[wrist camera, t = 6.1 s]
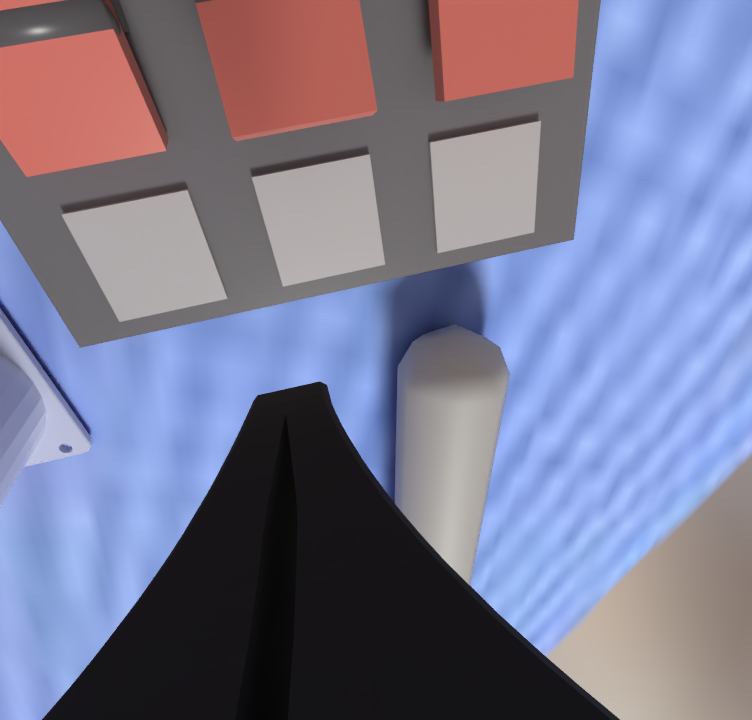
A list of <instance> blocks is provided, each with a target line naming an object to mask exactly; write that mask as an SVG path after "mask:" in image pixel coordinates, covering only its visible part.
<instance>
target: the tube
mask: <svg viewBox="0 0 752 720" xmlns="http://www.w3.org/2000/svg"><path fill="white" fill-rule="evenodd" d="M509 375H510V373H509V371H508V368H507V365H506V363H505V360H504V357H503V355H502V352H501V349H500V347H499V346H497V345H496V344H494V343H493V342H491V341H490V340H488V339H487V338H485V337H483V336H481V335H479V334H477V333H474V332H472V331H470V330H468V329H466V328H463V327H461V326H459V325H457V324H453V325H450V326H447V327H444V328H440V329H437V330H434V331H431V332H428V333H425V334H423V335H422V336H420V337H419V338H417V339H416V340H414V341H413V342H412V343H411V345H410V347H409V348H408V350H407V352H406V353H405V355H404V357H403V358H402V360H401V362H400V363H399V365H398V375H397V419H396V464H395V504H396V506H397V507H398V508H399V509H400V510H401V512H402V513H403V514H404V515H405V516H406V518H407V519H408V520H409V521H410V522H411V524H412V525H413V526H414V527H415V528H416V529H417V531H418V532H419V533H420V534H421V535H422V536H423V537H424V538H425V540H426V541H427V542H428V543H429V544H430V545H431V546H432V547H433V548H434V549H435V550H436V552H437V553H438V554H439V555H440V556H441V557H442V558H443V559H444V560H445V561H446V562H447V563H448V564H449V565H450V566H451V567H452V568H453V569H454V570H455V571H456V572H457V573H458V574H459V575H460V576H461V577H462V578H463V579H464V580H465V581H466V582H467V583H468V584H469V585H470V584H471V578H472V573H473V568H474V562H475V557H476V552H477V546H478V541H479V536H480V530H481V525H482V520H483V514H484V509H485V504H486V498H487V493H488V488H489V482H490V477H491V472H492V466H493V461H494V456H495V450H496V445H497V440H498V434H499V429H500V424H501V418H502V413H503V407H504V402H505V397H506V391H507V386H508V381H509Z"/></svg>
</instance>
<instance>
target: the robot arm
mask: <svg viewBox="0 0 752 720" xmlns="http://www.w3.org/2000/svg"><path fill="white" fill-rule="evenodd" d="M92 442H93V441H92V438H91V436H90V435H89V434H88V432H87V431H86V429H85V428H84V426H83V425H82V424H81V422H80V421H79V419H78V418H77V417H76V415H75V414H74V412H73V411H72V409H71V408H70V407H69V405H68V404H67V402H66V401H65V399H64V398H63V397H62V395H61V394H60V392H59V391H58V390H57V388H56V387H55V385H54V384H53V382H52V381H51V380H50V378H49V377H48V375H47V374H46V372H45V371H44V370H43V368H42V367H41V365H40V364H39V363H38V361H37V360H36V358H35V357H34V355H33V354H32V353H31V351H30V350H29V348H28V347H27V345H26V344H25V343H24V341H23V340H22V338H21V337H20V336H19V334H18V333H17V331H16V330H15V328H14V327H13V326H12V324H11V323H10V321H9V320H8V318H7V317H6V316H5V314H4V313H3V311H2V310H1V309H0V507H1V505H2V504H3V502H4V500H5V499H6V497H7V495H8V493H9V492H10V490H11V488H12V487H13V485H14V483H15V482H16V480H17V478H18V477H19V475H20V473H21V471H22V470H23V468H24V467H26V466H30V465H35V464H39V463H43V462H47V461H52V460H56V459H60V458H64V457H68V456H73V455H77V454H81V453H84V452H87V451H88V450H89V449H90V447H91V445H92ZM63 444H67V445H70V446H71V447H68V446H65V445H63ZM42 720H619V719H618V718H617V717H616V716H615V715H614V714H612V713H611V712H610V711H609V710H608V709H607V708H605V707H604V706H603V705H602V704H601V703H599V702H598V701H597V700H596V699H595V698H593V697H592V696H591V695H590V694H589V693H587V692H586V691H585V690H584V689H583V688H581V687H580V686H579V685H578V684H577V683H575V682H574V681H573V680H572V679H571V678H570V677H569V676H567V675H566V674H565V673H564V672H563V671H562V670H560V669H559V668H558V667H557V666H556V665H555V664H554V663H552V662H551V661H550V660H549V659H548V658H547V657H545V656H544V655H543V654H542V653H541V652H540V651H539V650H538V649H536V648H535V647H534V646H533V645H532V644H531V643H530V642H529V641H528V640H527V639H525V638H524V637H523V636H522V635H521V634H520V633H519V632H518V631H517V630H516V629H514V628H513V627H512V626H511V625H510V624H509V623H508V622H507V621H506V620H505V619H504V618H502V617H501V616H500V615H499V614H498V613H497V612H496V611H495V610H494V609H493V608H492V607H491V606H490V605H489V604H488V603H487V602H486V601H485V600H484V599H483V598H482V597H481V596H480V595H479V594H478V593H477V592H476V591H475V590H474V589H473V588H472V587H471V586H470V585H469V584H468V583H467V582H466V581H465V580H464V579H463V578H462V577H461V576H460V575H459V574H458V573H457V572H456V571H455V570H454V569H453V568H452V567H451V566H450V565H449V564H448V563H447V562H446V561H445V560H444V559H443V558H442V557H441V556H440V555H439V554H438V553H437V552H436V550H435V549H434V548H433V547H432V546H431V545H430V544H429V543H428V542H427V541H426V540H425V538H424V537H423V536H422V535H421V534H420V533H419V532H418V531H417V529H416V528H415V527H414V526H413V525H412V524H411V522H410V521H409V520H408V519H407V518H406V516H405V515H404V514H403V513H402V512H401V510H400V509H399V508H398V507H397V506H396V504H395V503H394V502H393V501H392V499H391V498H390V497H389V495H388V494H387V493H386V492H385V490H384V489H383V487H382V486H381V485H380V483H379V482H378V481H377V479H376V478H375V477H374V475H373V474H372V472H371V471H370V470H369V468H368V467H367V465H366V464H365V462H364V461H363V459H362V458H361V456H360V455H359V453H358V451H357V450H356V448H355V447H354V445H353V443H352V442H351V440H350V439H349V437H348V435H347V434H346V432H345V430H344V428H343V426H342V425H341V423H340V421H339V418H338V416H337V414H336V412H335V410H334V408H333V406H332V403H331V399H330V395H329V391H328V387H327V385H326V384H324V383H322V382H316V383H311V384H307V385H302V386H298V387H293V388H289V389H284V390H280V391H275V392H271V393H266V394H262V395H258V396H257V397H256V398H255V400H254V401H253V403H252V406H251V408H250V410H249V412H248V414H247V417H246V419H245V421H244V423H243V425H242V427H241V430H240V432H239V434H238V436H237V438H236V440H235V442H234V444H233V446H232V448H231V450H230V452H229V454H228V456H227V458H226V460H225V462H224V463H223V465H222V467H221V469H220V471H219V473H218V475H217V477H216V479H215V480H214V482H213V484H212V486H211V488H210V490H209V491H208V493H207V495H206V497H205V498H204V500H203V502H202V503H201V505H200V507H199V508H198V510H197V512H196V513H195V515H194V517H193V518H192V520H191V522H190V523H189V525H188V527H187V528H186V530H185V532H184V533H183V535H182V536H181V538H180V540H179V541H178V543H177V544H176V546H175V547H174V549H173V550H172V552H171V553H170V555H169V557H168V558H167V559H166V561H165V562H164V564H163V565H162V567H161V568H160V570H159V571H158V573H157V574H156V576H155V577H154V578H153V580H152V581H151V583H150V584H149V586H148V587H147V588H146V590H145V591H144V593H143V594H142V595H141V597H140V598H139V600H138V601H137V602H136V604H135V605H134V606H133V608H132V609H131V610H130V612H129V613H128V614H127V616H126V617H125V618H124V619H123V621H122V622H121V623H120V625H119V626H118V627H117V629H116V630H115V631H114V633H113V634H112V635H111V637H110V638H109V639H108V640H107V642H106V643H105V644H104V646H103V647H102V648H101V650H100V651H99V652H98V653H97V655H96V656H95V657H94V658H93V660H92V661H91V662H90V663H89V665H88V666H87V667H86V668H85V670H84V671H83V672H82V673H81V675H80V676H79V677H78V678H77V679H76V681H75V682H74V683H73V684H72V686H71V687H70V688H69V689H68V690H67V691H66V693H65V694H64V695H63V696H62V697H61V698H60V700H59V701H58V702H57V703H56V704H55V705H54V706H53V708H52V709H51V710H50V711H49V712H48V713H47V715H46V716H45V717H44V718H43V719H42Z"/></svg>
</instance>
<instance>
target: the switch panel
mask: <svg viewBox="0 0 752 720" xmlns="http://www.w3.org/2000/svg"><path fill="white" fill-rule="evenodd" d="M111 1H112V4H113V6H114V8H115V11H116V14H117V17H118V20H119V23H120V25H121V27H122V30H123V32H124V34H125V37H126V39H127V41H128V44H129V46H130V48H131V51H132V53H133V55H134V58H135V60H136V63H137V65H138V67H139V70H140V72H141V74H142V77H143V79H144V81H145V84H146V86H147V88H148V91H149V93H150V95H151V98H152V100H153V103H154V105H155V107H156V110H157V112H158V114H159V117H160V119H161V121H162V124H163V126H164V128H165V131H166V133H167V135H168V138H169V140H168V145H167V151H163V152H157V153H152V154H147V155H141V156H136V157H131V158H126V159H120V160H115V161H110V162H104V163H99V164H94V165H88V166H83V167H78V168H72V169H67V170H62V171H56V172H51V173H46V174H40V175H35V176H30V177H26V176H25V174H24V173H23V171H22V170H21V168H20V167H19V166H18V164H17V163H16V161H15V160H14V158H13V157H12V156H11V154H10V153H9V151H8V150H7V148H6V147H5V146H4V144H3V143H2V141H1V140H0V220H1V222H2V223H3V225H4V227H5V228H6V230H7V231H8V233H9V235H10V236H11V238H12V239H13V241H14V243H15V244H16V246H17V247H18V249H19V251H20V252H21V254H22V255H23V257H24V259H25V260H26V262H27V263H28V265H29V267H30V268H31V270H32V271H33V273H34V275H35V276H36V278H37V280H38V281H39V283H40V284H41V286H42V288H43V289H44V291H45V292H46V294H47V296H48V297H49V299H50V300H51V302H52V304H53V305H54V307H55V308H56V310H57V312H58V313H59V315H60V316H61V318H62V320H63V321H64V323H65V324H66V326H67V328H68V329H69V331H70V332H71V334H72V336H73V337H74V339H75V340H76V342H77V344H78V345H79V347H80V348H81V347H85V346H90V345H94V344H99V343H103V342H108V341H113V340H117V339H122V338H126V337H131V336H135V335H140V334H145V333H149V332H154V331H158V330H163V329H167V328H172V327H176V326H181V325H186V324H190V323H195V322H199V321H204V320H208V319H213V318H218V317H222V316H227V315H231V314H236V313H240V312H245V311H250V310H254V309H259V308H263V307H268V306H272V305H277V304H282V303H286V302H291V301H295V300H300V299H304V298H309V297H314V296H318V295H323V294H327V293H332V292H336V291H341V290H345V289H350V288H355V287H359V286H364V285H368V284H373V283H377V282H382V281H387V280H391V279H396V278H400V277H405V276H409V275H414V274H419V273H423V272H428V271H432V270H437V269H441V268H446V267H451V266H455V265H460V264H464V263H469V262H473V261H478V260H482V259H487V258H492V257H496V256H501V255H505V254H510V253H514V252H519V251H524V250H528V249H533V248H537V247H542V246H546V245H551V244H556V243H560V242H565V241H569V240H574V231H575V223H576V214H577V205H578V196H579V187H580V178H581V169H582V160H583V151H584V143H585V134H586V125H587V116H588V107H589V98H590V89H591V80H592V72H593V63H594V54H595V45H596V36H597V27H598V18H599V9H600V1H601V0H579V2H578V17H577V32H576V47H575V62H574V77H573V78H568V79H562V80H557V81H552V82H547V83H541V84H536V85H531V86H525V87H520V88H515V89H509V90H504V91H499V92H494V93H488V94H483V95H478V96H472V97H467V98H462V99H457V100H451V101H446V102H441V101H436V100H435V86H434V72H433V58H432V44H431V31H430V17H429V3H428V0H359V1H360V7H361V13H362V19H363V25H364V31H365V37H366V43H367V49H368V56H369V62H370V68H371V74H372V80H373V86H374V92H375V98H376V104H377V111H376V112H375V114H374V115H373V116H368V117H362V118H357V119H352V120H347V121H341V122H336V123H331V124H325V125H320V126H315V127H309V128H304V129H299V130H294V131H288V132H283V133H278V134H272V135H267V136H262V137H256V138H251V139H246V140H241V141H235V140H234V139H233V138H232V136H231V132H230V128H229V124H228V121H227V117H226V113H225V110H224V106H223V102H222V99H221V95H220V91H219V88H218V84H217V80H216V77H215V73H214V69H213V66H212V62H211V58H210V55H209V51H208V47H207V44H206V40H205V36H204V33H203V29H202V25H201V22H200V18H199V14H198V11H197V7H196V3H195V0H111Z"/></svg>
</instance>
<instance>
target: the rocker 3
mask: <svg viewBox="0 0 752 720" xmlns="http://www.w3.org/2000/svg"><path fill="white" fill-rule="evenodd" d="M578 2H579V0H428V3H429V17H430V31H431V44H432V58H433V72H434V86H435V100H436V101H441V102H446V101H451V100H457V99H462V98H467V97H472V96H478V95H483V94H488V93H494V92H499V91H504V90H509V89H515V88H520V87H525V86H531V85H536V84H541V83H547V82H552V81H557V80H562V79H568V78H573V77H574V62H575V47H576V32H577V17H578Z"/></svg>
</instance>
